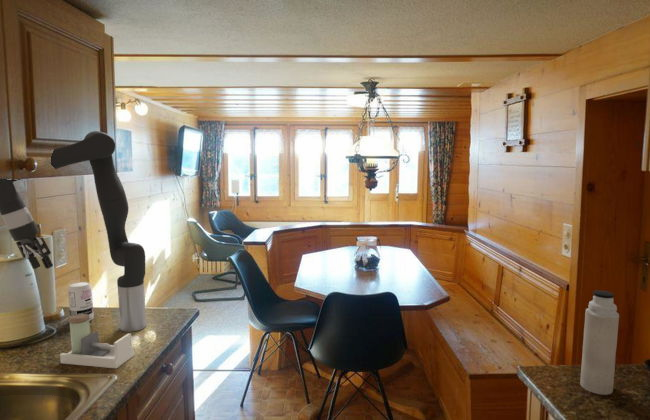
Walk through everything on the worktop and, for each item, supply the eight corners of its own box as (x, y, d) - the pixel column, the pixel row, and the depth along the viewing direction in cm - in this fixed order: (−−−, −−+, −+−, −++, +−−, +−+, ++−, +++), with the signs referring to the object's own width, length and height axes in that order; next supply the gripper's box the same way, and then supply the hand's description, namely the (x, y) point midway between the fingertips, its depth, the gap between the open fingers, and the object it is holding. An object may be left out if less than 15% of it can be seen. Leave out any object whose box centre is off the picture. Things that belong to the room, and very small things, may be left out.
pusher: (82, 359, 142) (81, 339, 142) (96, 350, 149) (95, 331, 148) (101, 361, 141) (100, 340, 140) (115, 351, 148) (114, 332, 147)
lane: (60, 363, 143) (58, 339, 142) (81, 350, 152) (79, 328, 151) (116, 368, 139) (114, 344, 138) (134, 355, 148) (132, 332, 147)
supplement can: (76, 317, 183) (73, 281, 181) (97, 316, 184) (94, 281, 182) (66, 324, 175) (63, 287, 173) (89, 323, 176) (86, 287, 174)
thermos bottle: (599, 379, 131) (607, 287, 127) (619, 394, 123) (628, 296, 119) (574, 380, 130) (580, 288, 127) (592, 395, 122) (600, 297, 119)
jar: (74, 352, 148) (70, 315, 146) (93, 350, 150) (90, 313, 148) (70, 360, 142) (67, 321, 141) (90, 357, 144) (87, 319, 143)
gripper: (42, 217, 143) (64, 262, 148) (21, 220, 151) (43, 262, 155) (19, 227, 137) (42, 273, 142) (-2, 229, 145) (21, 273, 149)
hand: (43, 267), depth 149 cm, fingers open, 8 cm apart
